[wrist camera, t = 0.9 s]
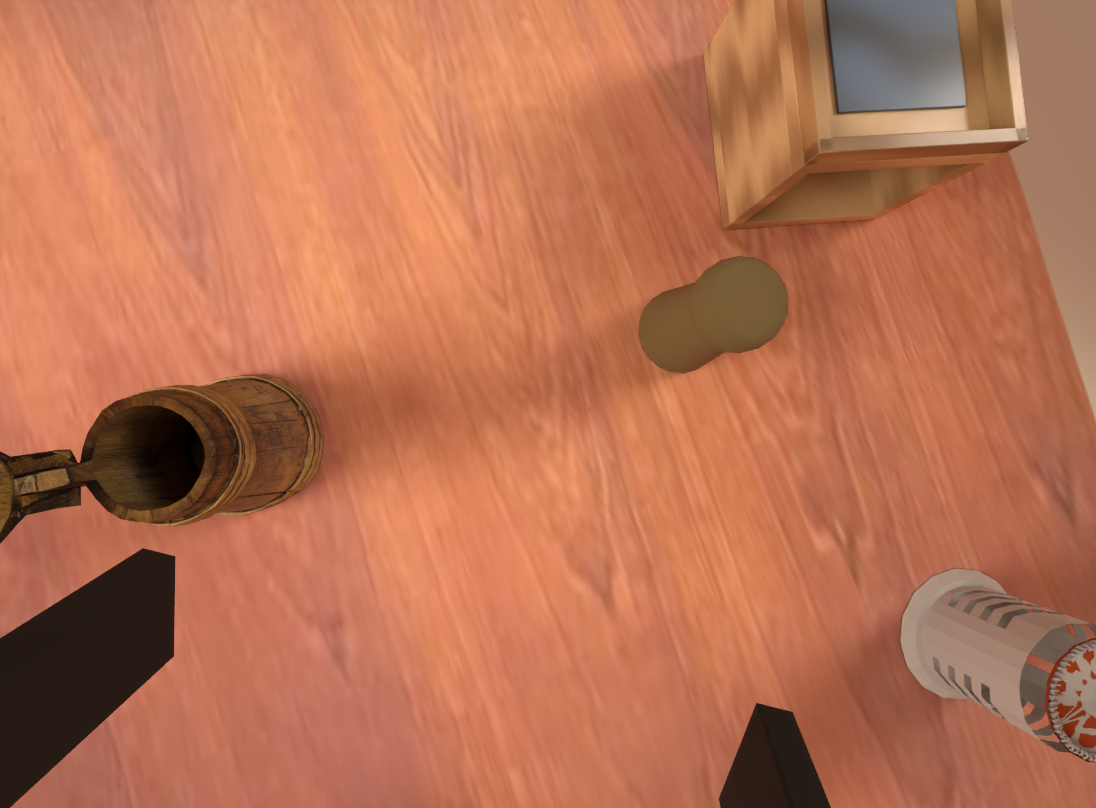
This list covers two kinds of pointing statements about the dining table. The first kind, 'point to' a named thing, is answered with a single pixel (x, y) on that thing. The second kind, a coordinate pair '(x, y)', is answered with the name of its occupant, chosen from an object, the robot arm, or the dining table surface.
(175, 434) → the wooden mug
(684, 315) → the olive pawn piece
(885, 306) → the dining table surface
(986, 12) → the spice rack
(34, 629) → the robot arm
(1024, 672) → the french press
